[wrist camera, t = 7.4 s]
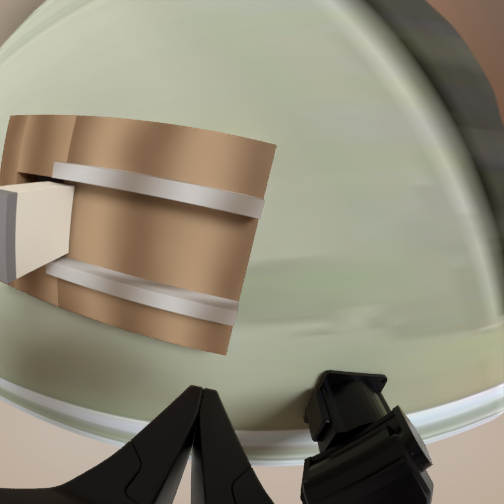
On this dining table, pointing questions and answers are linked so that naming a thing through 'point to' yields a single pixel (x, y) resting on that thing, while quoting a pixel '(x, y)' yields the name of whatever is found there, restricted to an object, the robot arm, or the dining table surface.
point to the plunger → (33, 226)
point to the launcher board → (145, 221)
